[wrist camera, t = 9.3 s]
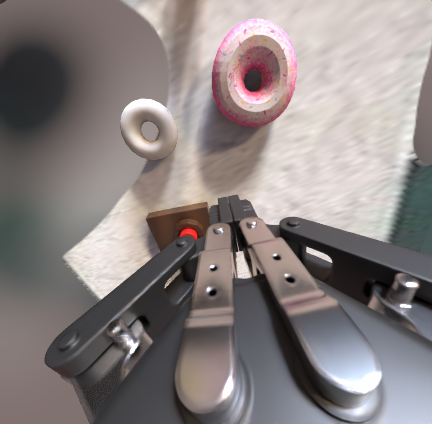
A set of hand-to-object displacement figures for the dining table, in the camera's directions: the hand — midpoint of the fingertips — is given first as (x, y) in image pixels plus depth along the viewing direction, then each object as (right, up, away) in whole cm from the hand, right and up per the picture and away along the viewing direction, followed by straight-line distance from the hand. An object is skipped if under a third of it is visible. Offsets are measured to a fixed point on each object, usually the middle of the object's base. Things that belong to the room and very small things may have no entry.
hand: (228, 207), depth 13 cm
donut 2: (+5, +22, +17) cm, 28 cm away
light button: (-7, -6, +26) cm, 28 cm away
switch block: (-9, -4, +30) cm, 32 cm away
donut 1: (-13, +15, +20) cm, 28 cm away
